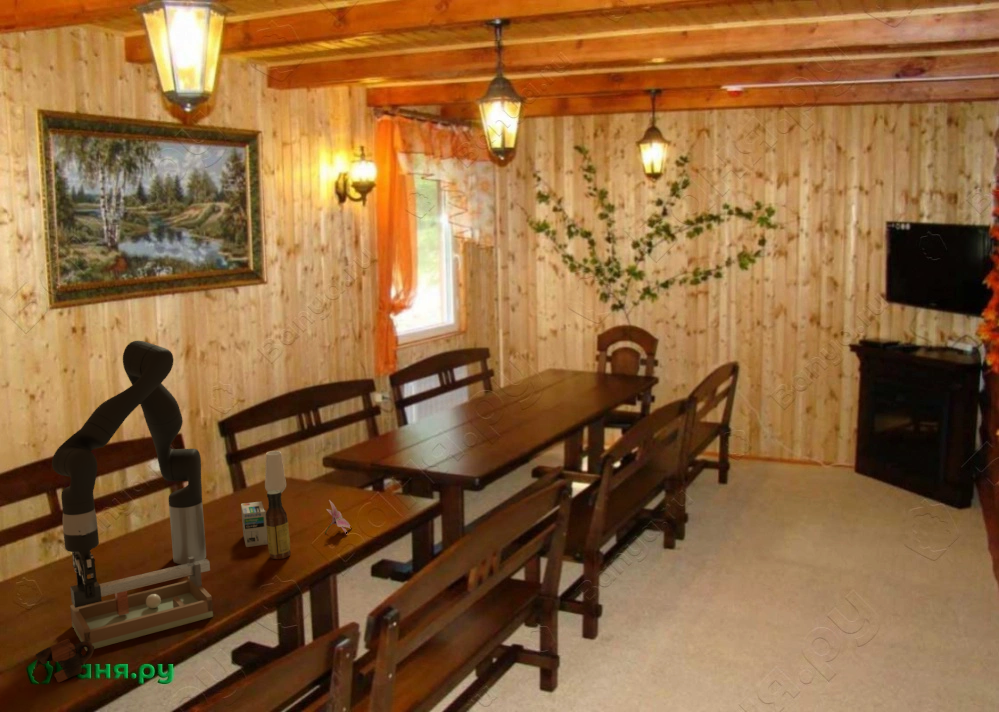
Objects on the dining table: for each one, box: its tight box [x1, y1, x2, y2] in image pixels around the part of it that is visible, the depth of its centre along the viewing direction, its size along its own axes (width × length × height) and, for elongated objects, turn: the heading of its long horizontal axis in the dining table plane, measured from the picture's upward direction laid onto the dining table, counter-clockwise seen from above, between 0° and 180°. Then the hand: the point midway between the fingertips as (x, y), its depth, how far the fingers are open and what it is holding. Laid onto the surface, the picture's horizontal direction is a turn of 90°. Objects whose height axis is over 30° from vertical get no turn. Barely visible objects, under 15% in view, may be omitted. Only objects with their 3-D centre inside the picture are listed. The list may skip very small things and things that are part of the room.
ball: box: [146, 594, 161, 609], centre depth 234 cm, size 4×4×4 cm
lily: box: [324, 499, 351, 534], centre depth 290 cm, size 12×12×10 cm
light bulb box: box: [240, 501, 268, 548], centre depth 284 cm, size 11×7×11 cm, turn 20°
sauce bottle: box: [266, 490, 291, 560], centre depth 270 cm, size 7×6×20 cm
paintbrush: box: [70, 558, 211, 616], centre depth 233 cm, size 4×33×9 cm, turn 125°
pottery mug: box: [35, 638, 95, 684], centre depth 207 cm, size 12×10×8 cm
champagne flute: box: [264, 450, 287, 494], centre depth 296 cm, size 7×7×24 cm
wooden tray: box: [69, 556, 214, 652], centre depth 230 cm, size 16×30×12 cm, turn 125°
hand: (86, 592), depth 224 cm, fingers open, 8 cm apart
